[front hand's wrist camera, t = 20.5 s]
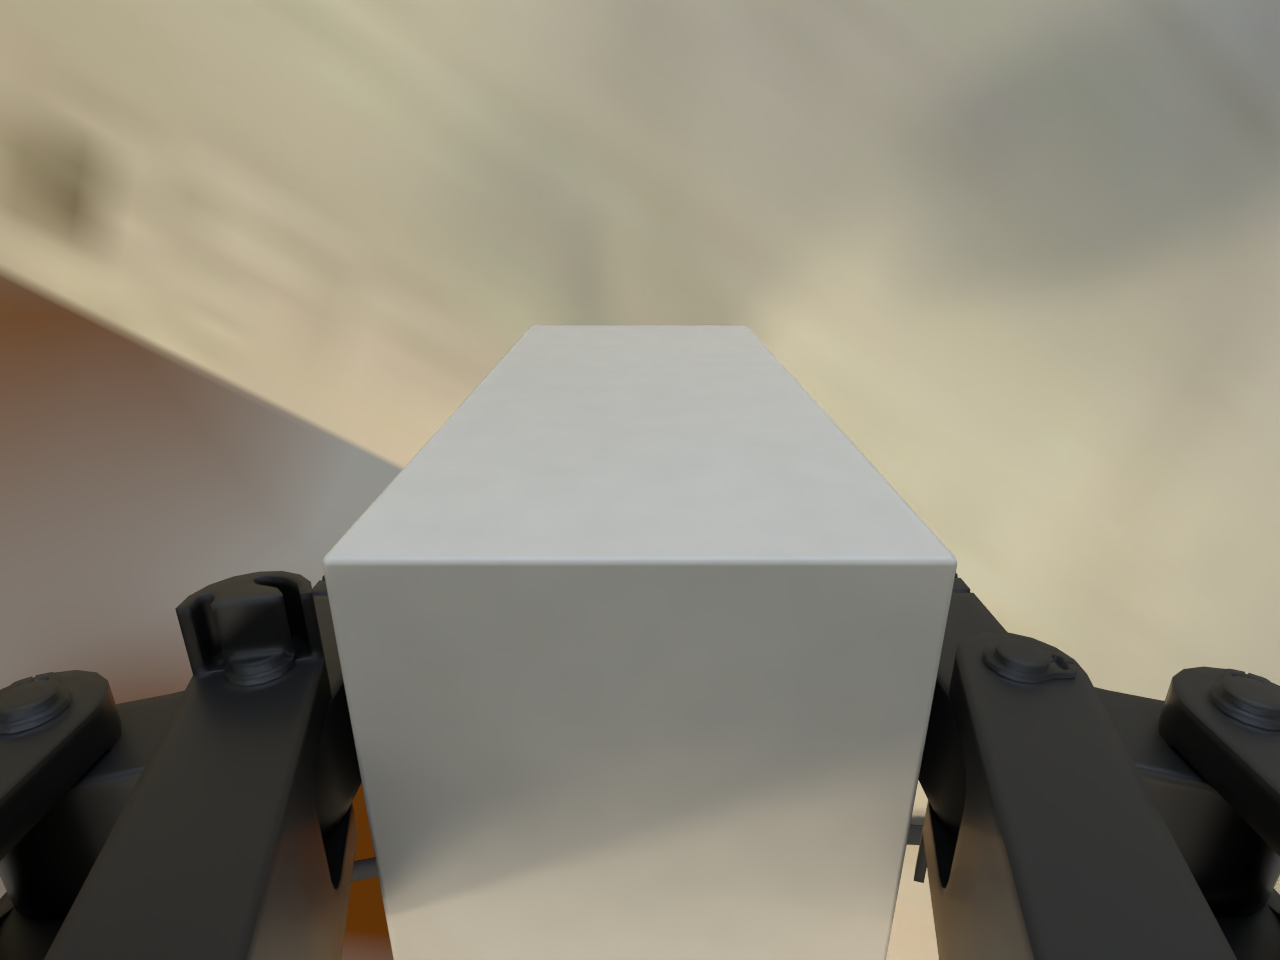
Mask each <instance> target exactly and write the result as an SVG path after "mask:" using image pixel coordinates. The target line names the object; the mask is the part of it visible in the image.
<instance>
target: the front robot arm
mask: <svg viewBox="0 0 1280 960" xmlns="http://www.w3.org/2000/svg"><path fill="white" fill-rule="evenodd" d="M322 578H323V579H322V581H319V582H318V583H317V584H316V585H315V586H314V588H313V589H312V586H311V582H310V581H309V580H307V579H306V578H304V577H303V576H301V575H299V574H295V573H289V572H284V571H268V572H256V573H250V574H245V575H239V576H234V577H231V578H228V579H225V580H222V581H219V582H216V583H214V584H211V585H208V586H206V587H205V588H203V589H201V590H199V591H197V592H195V593H194V594H192V595H190V596H188V597H187V598H186V599H185V600H184V601H183V602H182V603H181V604H180V605H179V606H178V607H177V608H176V613H177V616H178V620H179V624H180V628H181V631H182V635H183V638H184V642H185V646H186V650H187V653H188V657H189V661H190V665H191V668H192V672H193V677H192V678H191V680H190V682H189V684H188V686H187V688H186V690H185V691H181V692H177V693H173V694H168V695H163V696H158V697H153V698H147V699H142V700H136V701H131V702H126V703H121V704H115V701H114V698H113V695H112V692H111V689H110V686H109V683H108V680H106V679H105V678H104V677H102V676H101V675H99V674H98V673H96V672H88V671H80V670H73V671H64V672H56V673H53V672H51V673H45V674H40V675H36V677H34V678H32V677H29V678H25V679H22V680H19V681H16V682H14V683H13V684H11V685H10V686H8V687H6V688H3V689H1V690H0V877H1V879H2V881H3V884H4V886H5V888H6V890H7V892H6V893H5V894H4V895H3V896H2V898H1V899H0V960H341V955H342V947H343V940H344V932H345V925H346V917H347V909H348V902H349V894H350V886H351V882H352V881H357V880H363V879H368V878H373V877H379V874H378V869H377V863H376V858H375V857H374V858H369V859H363V860H358V861H354V856H355V848H356V840H357V828H356V820H355V815H354V809H353V804H352V801H353V798H354V797H355V795H356V792H357V790H358V788H359V786H360V784H361V782H362V780H361V775H360V769H359V764H358V758H357V753H356V747H355V741H354V736H353V730H352V725H351V719H350V714H349V708H348V703H347V697H346V692H345V686H344V681H343V675H342V669H341V664H340V658H339V653H338V647H337V642H336V636H335V631H334V625H333V620H332V614H331V608H330V603H329V597H328V592H327V586H326V581H325V575H324V576H323V577H322ZM918 779H919V782H920V784H921V786H922V788H923V790H924V792H925V794H926V796H927V798H928V804H927V809H926V815H925V820H924V825H910V828H909V833H908V839H907V844H909V845H920V846H919V852H918V857H917V862H916V868H915V875H914V881H917V882H922V883H924V878H925V873H926V868H927V869H928V877H929V885H930V892H931V900H932V908H933V915H934V923H935V930H936V938H937V946H938V953H939V960H1280V895H1279V894H1278V893H1277V891H1276V890H1275V889H1274V886H1275V884H1276V882H1277V880H1278V877H1279V875H1280V686H1279V685H1276V684H1274V683H1272V682H1270V681H1269V680H1267V679H1266V678H1263V677H1260V676H1257V675H1254V674H1251V673H1248V674H1245V672H1243V671H1238V670H1233V669H1220V668H1211V667H1197V668H1189V669H1183V670H1182V671H1180V672H1179V673H1178V674H1176V675H1175V676H1173V678H1172V681H1171V684H1170V687H1169V690H1168V693H1167V696H1166V699H1165V701H1161V700H1156V699H1150V698H1145V697H1140V696H1135V695H1129V694H1124V693H1119V692H1113V691H1108V690H1104V689H1100V688H1096V687H1093V685H1092V683H1091V681H1090V679H1089V677H1088V675H1087V674H1086V672H1085V671H1084V670H1083V669H1082V668H1081V667H1080V665H1079V664H1078V663H1077V662H1076V661H1075V660H1074V659H1073V658H1071V657H1069V656H1068V655H1066V654H1065V653H1063V652H1062V651H1060V650H1059V649H1057V648H1056V647H1053V646H1051V645H1048V644H1046V643H1043V642H1041V641H1038V640H1036V639H1033V638H1030V637H1026V636H1021V635H1017V634H1012V633H1008V632H1007V631H1006V630H1005V629H1004V628H1003V627H1002V626H1001V624H1000V623H999V622H998V621H997V620H996V619H995V617H994V616H993V615H992V614H991V613H990V612H989V610H988V609H987V608H986V607H985V606H984V605H983V604H982V602H981V601H980V600H979V599H978V598H977V597H976V595H975V594H974V593H970V588H969V587H968V586H967V585H966V584H965V583H964V581H963V580H962V579H961V578H958V577H957V573H955V578H954V584H953V589H952V595H951V600H950V606H949V612H948V617H947V623H946V628H945V634H944V639H943V645H942V650H941V656H940V661H939V667H938V673H937V678H936V684H935V689H934V695H933V700H932V706H931V711H930V717H929V722H928V728H927V734H926V739H925V745H924V750H923V756H922V761H921V767H920V772H919V778H918Z"/></svg>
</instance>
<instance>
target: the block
mask: <svg viewBox="0 0 1280 960" xmlns="http://www.w3.org/2000/svg"><path fill="white" fill-rule="evenodd" d="M956 567H957V561H956V558H955V556H954V555H953V554H952V553H951V552H950V551H949V549H948V548H947V547H946V546H945V545H944V544H943V543H942V542H941V540H940V539H939V538H938V537H937V536H936V535H935V534H934V533H933V532H932V530H931V529H930V528H929V527H928V526H927V525H926V524H925V523H924V522H923V520H922V519H921V518H920V517H919V516H918V515H917V514H916V513H915V512H914V510H913V509H912V508H911V507H910V506H909V505H908V504H907V503H906V502H905V500H904V499H903V498H902V497H901V496H900V495H899V494H898V493H897V491H896V490H895V489H894V488H893V487H892V486H891V485H890V484H889V483H888V481H887V480H886V479H885V478H884V477H883V476H882V475H881V474H880V473H879V471H878V470H877V469H876V468H875V467H874V466H873V465H872V464H871V463H870V461H869V460H868V459H867V458H866V457H865V456H864V455H863V454H862V452H861V451H860V450H859V449H858V448H857V447H856V446H855V445H854V444H853V442H852V441H851V440H850V439H849V438H848V437H847V436H846V435H845V434H844V432H843V431H842V430H841V429H840V428H839V427H838V426H837V425H836V424H835V422H834V421H833V420H832V419H831V418H830V417H829V416H828V415H827V414H826V412H825V411H824V410H823V409H822V408H821V407H820V406H819V405H818V403H817V402H816V401H815V400H814V399H813V398H812V397H811V396H810V395H809V393H808V392H807V391H806V390H805V389H804V388H803V387H802V386H801V385H800V383H799V382H798V381H797V380H796V379H795V378H794V377H793V376H792V375H791V373H790V372H789V371H788V370H787V369H786V368H785V367H784V366H783V365H782V363H781V362H780V361H779V360H778V359H777V358H776V357H775V356H774V354H773V353H772V352H771V351H770V350H769V349H768V348H767V347H766V346H765V344H764V343H763V342H762V341H761V340H760V339H759V338H758V337H757V336H756V334H755V333H754V332H753V331H752V330H751V329H750V328H749V327H748V326H746V325H533V326H531V327H530V328H529V329H528V331H527V332H526V333H525V334H524V335H523V336H522V337H521V338H520V339H519V341H518V342H517V343H516V344H515V345H514V346H513V347H512V348H511V350H510V351H509V352H508V353H507V354H506V355H505V356H504V357H503V358H502V360H501V361H500V362H499V363H498V364H497V365H496V366H495V367H494V368H493V370H492V371H491V372H490V373H489V374H488V375H487V376H486V377H485V378H484V380H483V381H482V382H481V383H480V384H479V385H478V386H477V387H476V389H475V390H474V391H473V392H472V393H471V394H470V395H469V396H468V397H467V399H466V400H465V401H464V402H463V403H462V404H461V405H460V406H459V407H458V409H457V410H456V411H455V412H454V413H453V414H452V415H451V416H450V417H449V419H448V420H447V421H446V422H445V423H444V424H443V425H442V426H441V428H440V429H439V430H438V431H437V432H436V433H435V434H434V435H433V436H432V438H431V439H430V440H429V441H428V442H427V443H426V444H425V445H424V446H423V448H422V449H421V450H420V451H419V452H418V453H417V454H416V455H415V456H414V458H413V459H412V460H411V461H410V462H409V463H408V464H407V465H406V467H405V468H404V469H403V470H402V471H401V472H400V473H399V474H398V476H397V477H396V478H395V479H394V480H393V481H392V482H391V483H390V484H389V485H388V487H387V488H386V489H385V490H384V491H383V492H382V493H381V494H380V495H379V497H378V498H377V499H376V500H375V501H374V502H373V503H372V504H371V506H370V507H369V508H368V509H367V510H366V511H365V512H364V513H363V514H362V516H361V517H360V518H359V519H358V520H357V521H356V522H355V523H354V524H353V526H352V527H351V528H350V529H349V530H348V531H347V532H346V533H345V535H344V536H343V537H342V538H341V539H340V540H339V541H338V542H337V543H336V545H335V546H334V547H333V548H332V549H331V550H330V551H329V552H328V554H327V555H326V556H325V557H324V560H323V570H324V575H325V581H326V586H327V592H328V597H329V603H330V608H331V614H332V620H333V625H334V631H335V636H336V642H337V647H338V653H339V658H340V664H341V669H342V675H343V681H344V686H345V692H346V697H347V703H348V708H349V714H350V719H351V725H352V730H353V736H354V741H355V747H356V753H357V758H358V764H359V769H360V775H361V780H362V786H363V791H364V797H365V802H366V808H367V813H368V819H369V825H370V830H371V836H372V841H373V847H374V852H375V858H376V863H377V869H378V874H379V880H380V885H381V891H382V896H383V902H384V908H385V913H386V919H387V924H388V930H389V935H390V941H391V946H392V952H393V958H394V960H886V955H887V950H888V944H889V939H890V933H891V928H892V922H893V917H894V911H895V906H896V900H897V894H898V889H899V883H900V878H901V872H902V867H903V861H904V856H905V850H906V845H907V839H908V833H909V828H910V822H911V817H912V811H913V806H914V800H915V795H916V789H917V784H918V778H919V772H920V767H921V761H922V756H923V750H924V745H925V739H926V734H927V728H928V722H929V717H930V711H931V706H932V700H933V695H934V689H935V684H936V678H937V673H938V667H939V661H940V656H941V650H942V645H943V639H944V634H945V628H946V623H947V617H948V612H949V606H950V600H951V595H952V589H953V584H954V578H955V573H956Z"/></svg>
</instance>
